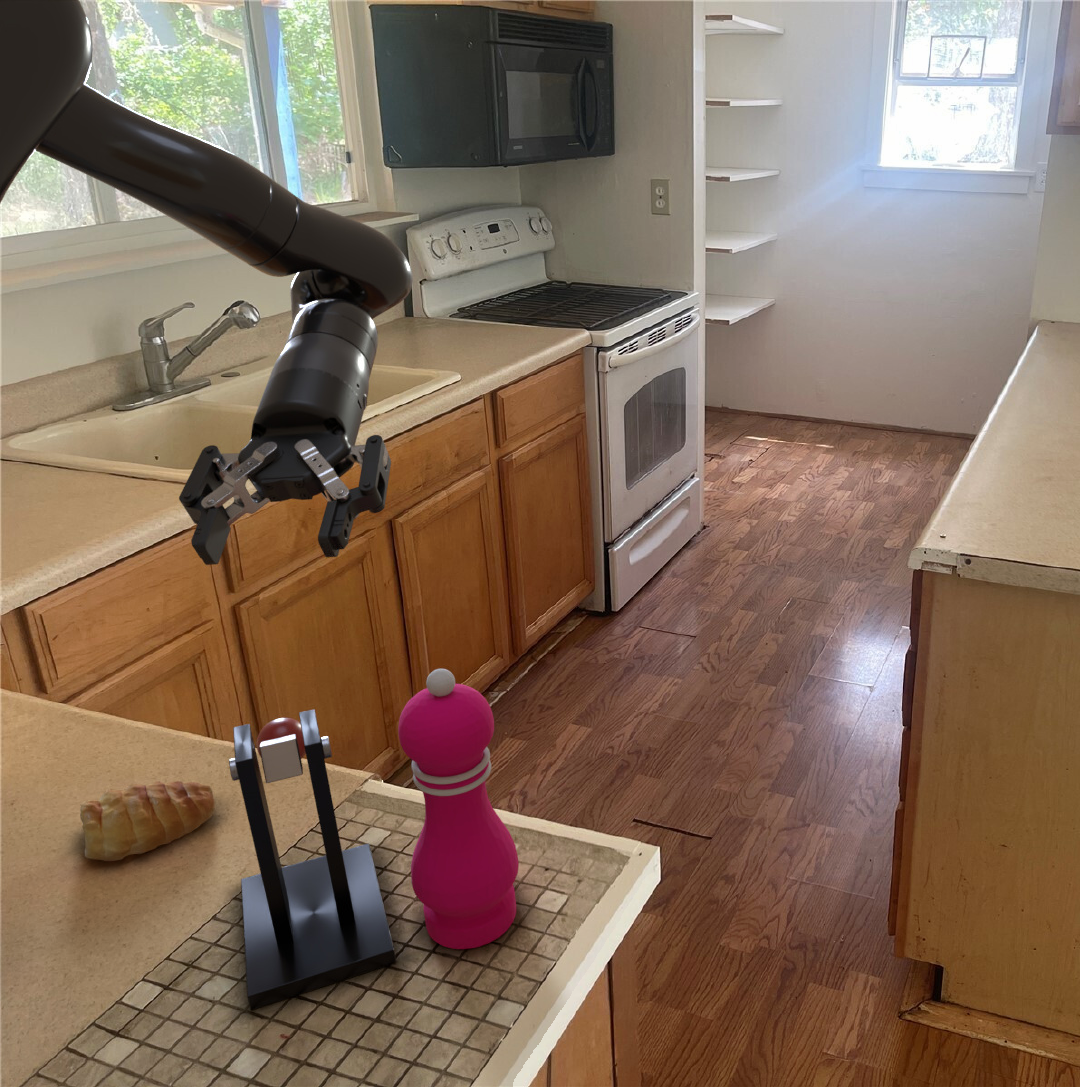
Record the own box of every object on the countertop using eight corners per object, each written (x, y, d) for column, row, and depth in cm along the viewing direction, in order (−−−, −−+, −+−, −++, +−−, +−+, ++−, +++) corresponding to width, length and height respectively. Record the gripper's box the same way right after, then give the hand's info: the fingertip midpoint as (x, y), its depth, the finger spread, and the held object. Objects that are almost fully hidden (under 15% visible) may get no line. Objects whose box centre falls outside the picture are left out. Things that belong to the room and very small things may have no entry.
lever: (262, 769, 76) (253, 722, 76) (313, 757, 78) (304, 710, 78) (255, 796, 64) (245, 739, 64) (316, 780, 65) (305, 726, 65)
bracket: (243, 891, 75) (198, 706, 68) (371, 855, 78) (339, 676, 72) (250, 1010, 65) (198, 806, 58) (396, 963, 68) (362, 765, 62)
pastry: (209, 788, 86) (200, 750, 85) (224, 831, 81) (215, 791, 80) (82, 829, 81) (69, 789, 80) (89, 877, 76) (76, 836, 75)
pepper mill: (405, 956, 69) (363, 700, 61) (434, 882, 75) (399, 643, 68) (512, 956, 69) (483, 700, 61) (532, 882, 75) (507, 643, 68)
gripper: (207, 371, 79) (140, 524, 69) (389, 359, 79) (351, 510, 69) (245, 441, 85) (188, 593, 74) (415, 430, 85) (383, 580, 74)
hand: (266, 553), depth 71 cm, fingers open, 8 cm apart
